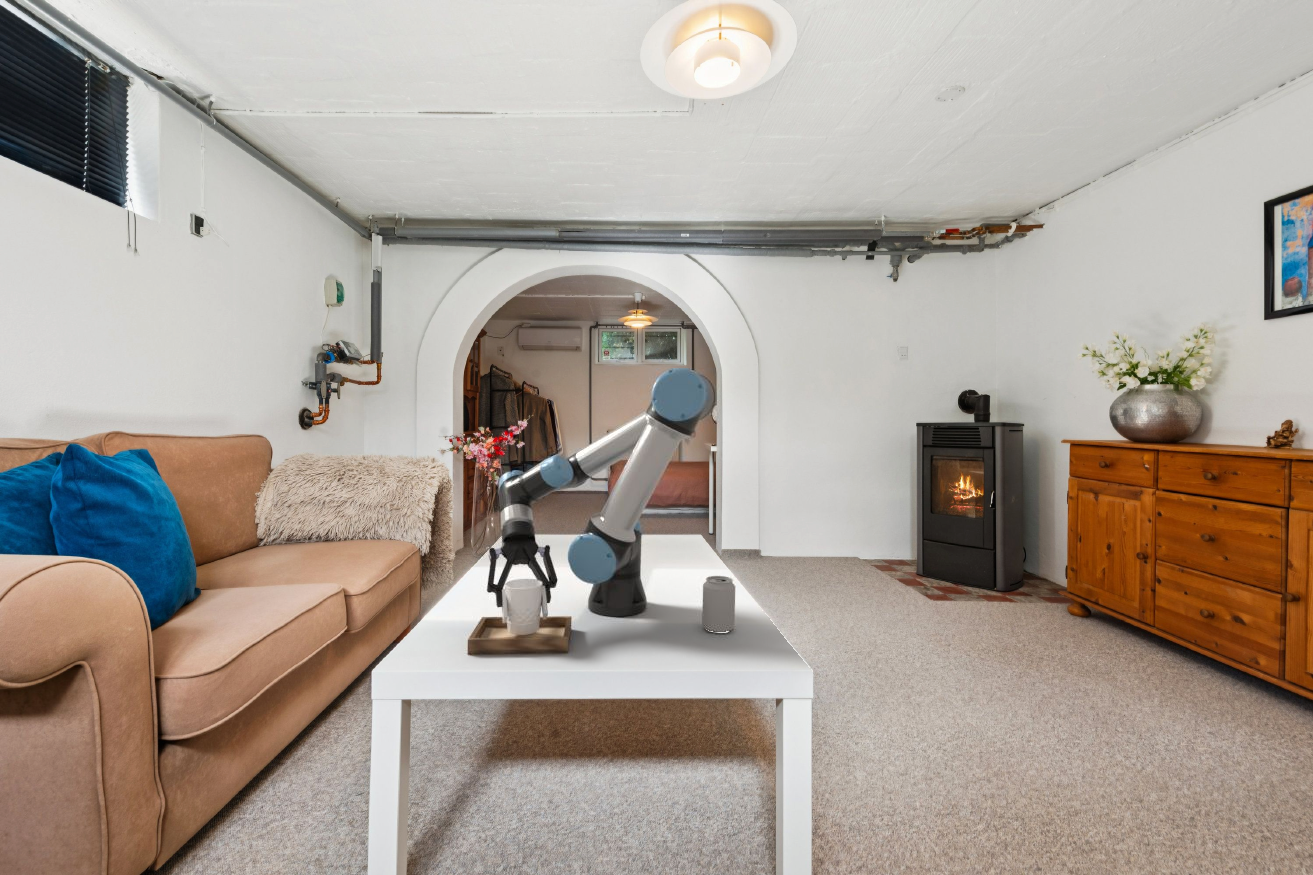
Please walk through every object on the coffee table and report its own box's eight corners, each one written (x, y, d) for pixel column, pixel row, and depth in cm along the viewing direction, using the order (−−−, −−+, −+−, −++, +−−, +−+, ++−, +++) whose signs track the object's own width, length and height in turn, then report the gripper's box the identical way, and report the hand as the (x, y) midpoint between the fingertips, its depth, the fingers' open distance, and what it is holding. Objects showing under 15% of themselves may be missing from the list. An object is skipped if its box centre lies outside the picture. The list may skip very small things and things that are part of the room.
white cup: (532, 637, 118) (533, 589, 118) (497, 634, 120) (498, 587, 120) (547, 625, 126) (548, 580, 126) (514, 622, 127) (515, 577, 127)
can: (738, 627, 135) (739, 576, 135) (728, 637, 128) (730, 584, 128) (708, 622, 138) (709, 572, 138) (697, 631, 131) (698, 579, 131)
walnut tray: (571, 629, 131) (571, 616, 131) (567, 653, 117) (568, 638, 117) (481, 630, 129) (482, 616, 129) (467, 654, 115) (467, 639, 115)
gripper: (558, 535, 141) (570, 621, 126) (471, 539, 133) (473, 631, 118) (563, 517, 136) (576, 605, 121) (473, 520, 128) (475, 613, 113)
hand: (525, 618), depth 120 cm, fingers closed on white cup, 8 cm apart
